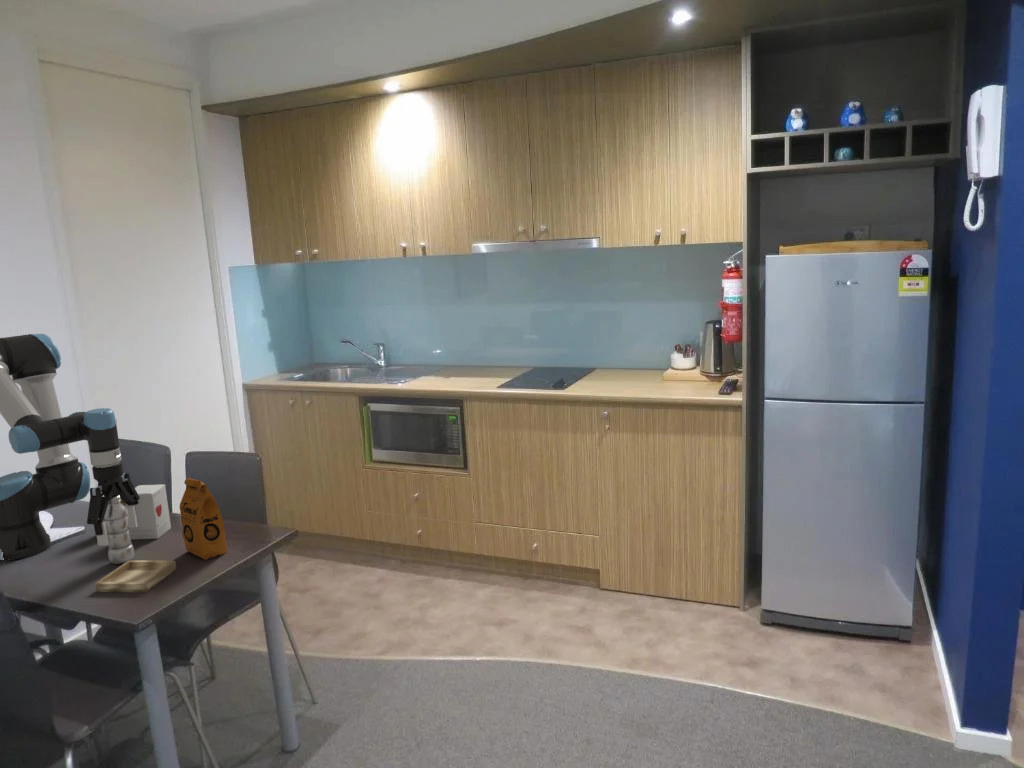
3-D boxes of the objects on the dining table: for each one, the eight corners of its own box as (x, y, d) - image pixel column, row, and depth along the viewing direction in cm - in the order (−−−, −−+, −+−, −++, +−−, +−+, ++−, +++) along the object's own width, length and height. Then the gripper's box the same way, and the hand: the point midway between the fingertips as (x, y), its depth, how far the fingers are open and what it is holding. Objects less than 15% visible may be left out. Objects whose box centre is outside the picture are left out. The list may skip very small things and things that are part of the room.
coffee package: (198, 563, 206) (188, 490, 202) (181, 552, 215) (171, 481, 210) (232, 552, 213) (223, 480, 209) (214, 541, 222) (205, 472, 217)
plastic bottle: (111, 559, 211) (100, 494, 208) (136, 555, 214) (126, 490, 210) (108, 568, 206) (97, 501, 202) (134, 563, 208) (124, 497, 204)
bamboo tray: (96, 591, 192) (95, 583, 191) (130, 568, 205) (128, 560, 205) (145, 592, 190) (144, 584, 189) (176, 568, 203) (175, 560, 203)
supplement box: (158, 539, 225) (151, 493, 222) (129, 540, 225) (122, 494, 222) (172, 527, 234) (166, 483, 231) (145, 528, 234) (138, 484, 231)
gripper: (89, 477, 192) (102, 553, 196) (145, 451, 215) (156, 519, 220) (63, 477, 192) (76, 553, 197) (122, 451, 216) (133, 519, 220)
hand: (118, 535), depth 208 cm, fingers open, 12 cm apart
